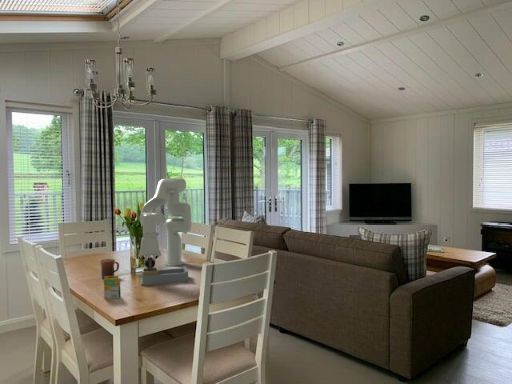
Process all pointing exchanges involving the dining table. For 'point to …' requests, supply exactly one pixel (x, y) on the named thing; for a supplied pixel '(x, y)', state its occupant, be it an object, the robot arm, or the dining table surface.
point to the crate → (150, 268)
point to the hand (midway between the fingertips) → (150, 266)
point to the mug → (108, 267)
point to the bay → (166, 276)
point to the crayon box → (111, 287)
